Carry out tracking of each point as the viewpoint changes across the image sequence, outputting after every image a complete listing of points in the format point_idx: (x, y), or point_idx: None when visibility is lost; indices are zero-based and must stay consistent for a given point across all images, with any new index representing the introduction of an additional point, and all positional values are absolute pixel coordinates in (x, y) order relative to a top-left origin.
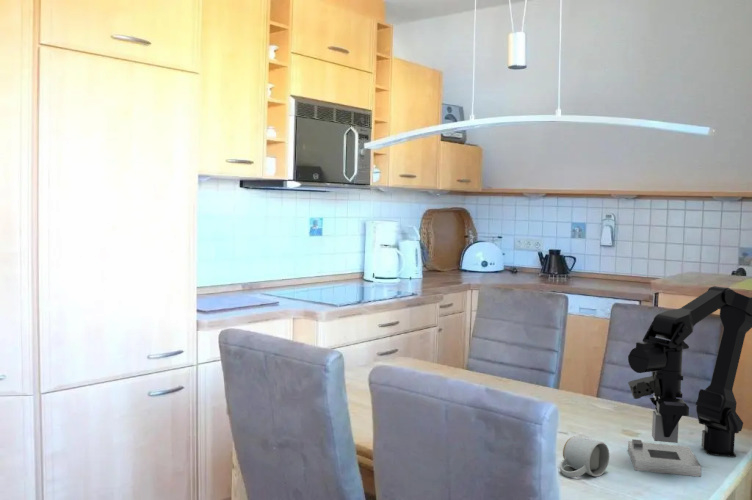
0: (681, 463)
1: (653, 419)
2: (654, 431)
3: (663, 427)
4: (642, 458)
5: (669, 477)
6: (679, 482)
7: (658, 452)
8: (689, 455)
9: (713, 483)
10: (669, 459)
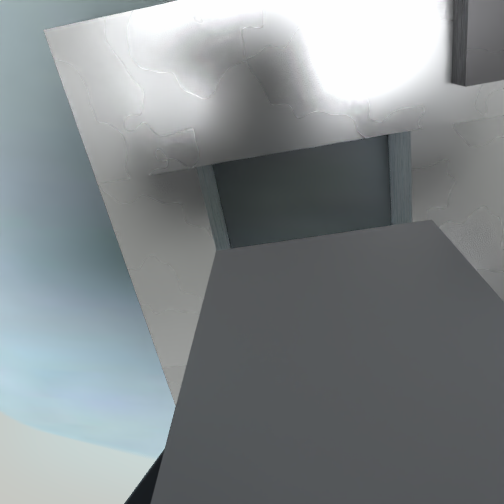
0: (176, 359)
1: (453, 405)
2: (247, 304)
3: (133, 491)
4: (125, 95)
5: (91, 259)
6: (47, 305)
7: (405, 216)
8: None
9: (139, 434)
10: None
